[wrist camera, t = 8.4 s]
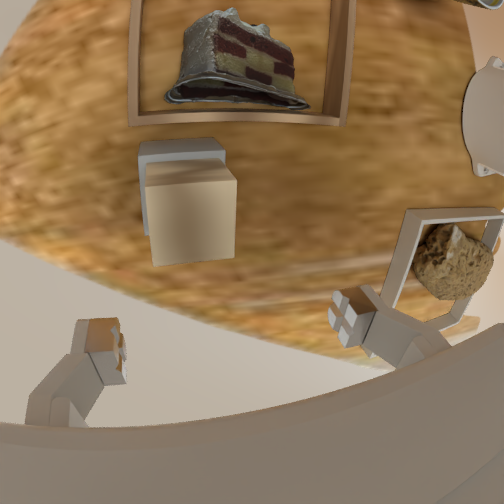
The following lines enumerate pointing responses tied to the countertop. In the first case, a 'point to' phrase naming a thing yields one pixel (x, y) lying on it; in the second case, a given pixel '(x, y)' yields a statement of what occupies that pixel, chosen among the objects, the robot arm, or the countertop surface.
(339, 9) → the oak cake frame
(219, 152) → the slate block
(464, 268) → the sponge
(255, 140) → the countertop surface
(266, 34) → the chocolate cake
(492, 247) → the grey square frame
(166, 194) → the maple block
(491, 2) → the ceramic cup
